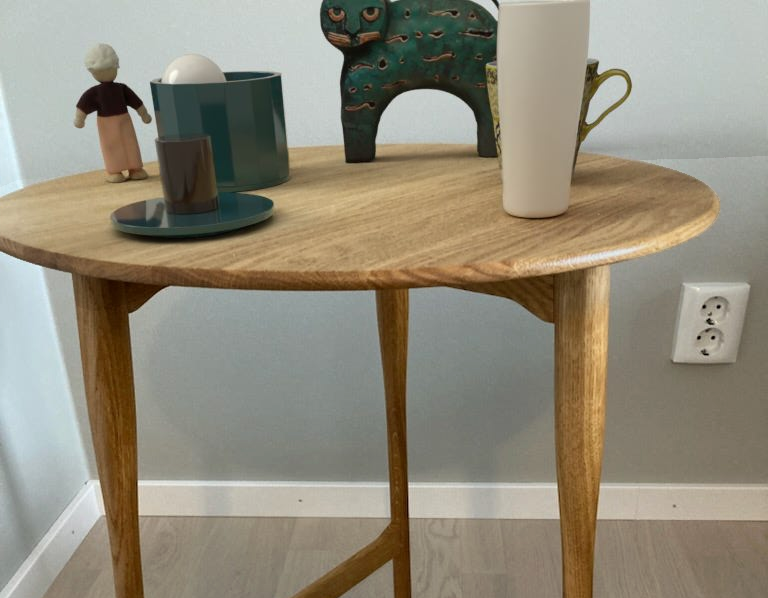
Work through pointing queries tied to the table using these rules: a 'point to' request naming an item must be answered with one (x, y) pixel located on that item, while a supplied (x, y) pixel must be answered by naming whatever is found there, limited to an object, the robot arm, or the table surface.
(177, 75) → the lightbulb
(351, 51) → the ceramic cat
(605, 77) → the ceramic cup
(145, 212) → the lid
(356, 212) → the table surface
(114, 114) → the grandmother figurine
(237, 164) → the tin
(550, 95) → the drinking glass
